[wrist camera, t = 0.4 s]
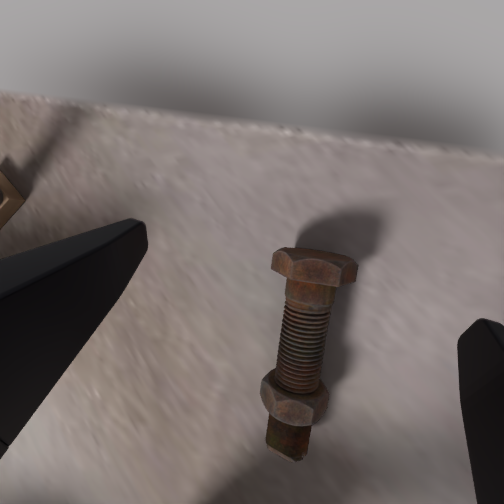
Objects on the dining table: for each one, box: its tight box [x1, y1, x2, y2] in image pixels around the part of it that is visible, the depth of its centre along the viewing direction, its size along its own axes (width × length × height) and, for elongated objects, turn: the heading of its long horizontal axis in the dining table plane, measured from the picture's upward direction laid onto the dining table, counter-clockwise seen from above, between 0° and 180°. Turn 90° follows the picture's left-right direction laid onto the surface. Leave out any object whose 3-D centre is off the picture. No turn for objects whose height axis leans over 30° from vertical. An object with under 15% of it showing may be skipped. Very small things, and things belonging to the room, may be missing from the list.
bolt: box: [260, 247, 358, 462], centre depth 21 cm, size 6×5×15 cm
